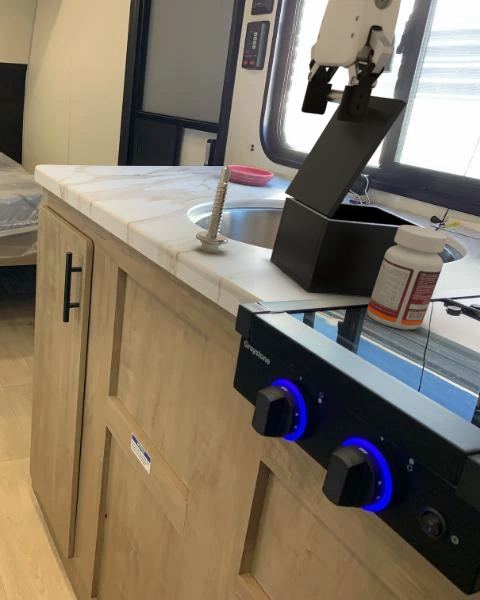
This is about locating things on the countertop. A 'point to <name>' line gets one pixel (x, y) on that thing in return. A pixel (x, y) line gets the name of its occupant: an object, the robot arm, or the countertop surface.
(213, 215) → the screw
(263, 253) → the countertop surface
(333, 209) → the bin lid
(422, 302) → the pill bottle
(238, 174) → the saucer
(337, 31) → the robot arm
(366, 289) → the bin
